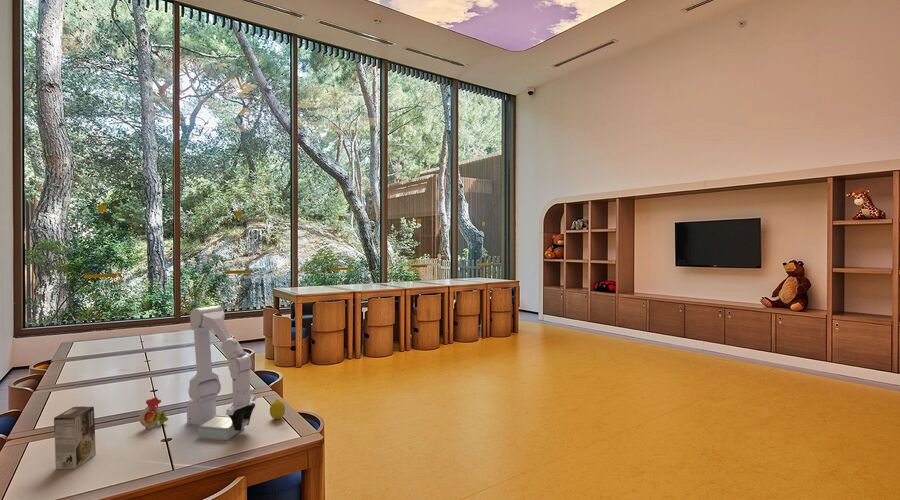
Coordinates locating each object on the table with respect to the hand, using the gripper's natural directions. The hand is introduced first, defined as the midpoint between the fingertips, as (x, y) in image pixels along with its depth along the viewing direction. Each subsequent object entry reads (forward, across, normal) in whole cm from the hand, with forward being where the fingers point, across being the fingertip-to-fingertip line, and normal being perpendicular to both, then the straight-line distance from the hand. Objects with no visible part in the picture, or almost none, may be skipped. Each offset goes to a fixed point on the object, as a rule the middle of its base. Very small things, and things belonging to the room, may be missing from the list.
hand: (241, 427), depth 168 cm
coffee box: (+3, -26, +40) cm, 48 cm away
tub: (+3, 0, +8) cm, 8 cm away
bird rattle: (+3, +2, +37) cm, 37 cm away
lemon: (+3, +15, -5) cm, 16 cm away
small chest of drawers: (-1, 0, +6) cm, 6 cm away
